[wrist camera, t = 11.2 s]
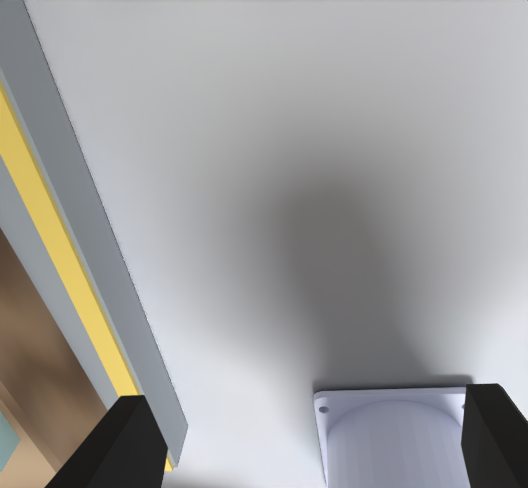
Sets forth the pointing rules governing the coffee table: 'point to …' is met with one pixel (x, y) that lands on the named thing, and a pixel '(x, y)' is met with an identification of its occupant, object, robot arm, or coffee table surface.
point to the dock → (72, 235)
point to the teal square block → (6, 441)
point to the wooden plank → (38, 382)
